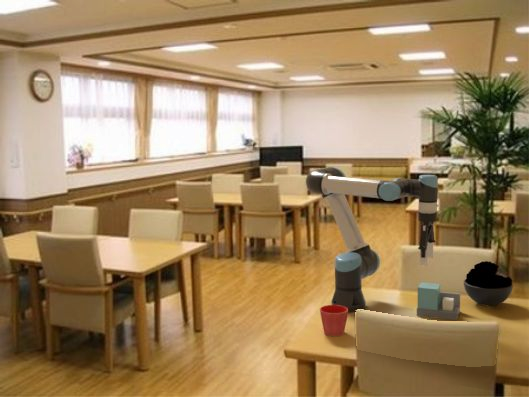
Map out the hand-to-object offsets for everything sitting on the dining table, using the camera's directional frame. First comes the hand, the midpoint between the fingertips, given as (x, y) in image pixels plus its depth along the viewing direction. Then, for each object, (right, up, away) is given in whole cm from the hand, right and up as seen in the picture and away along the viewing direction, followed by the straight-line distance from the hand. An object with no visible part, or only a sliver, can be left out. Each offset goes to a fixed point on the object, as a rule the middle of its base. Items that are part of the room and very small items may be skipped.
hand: (426, 261), depth 231 cm
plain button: (+8, -20, -3) cm, 22 cm away
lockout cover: (+1, -19, 0) cm, 19 cm away
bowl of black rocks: (+29, -20, +9) cm, 37 cm away
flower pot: (-42, -26, -19) cm, 53 cm away
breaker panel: (+5, -22, -1) cm, 23 cm away
